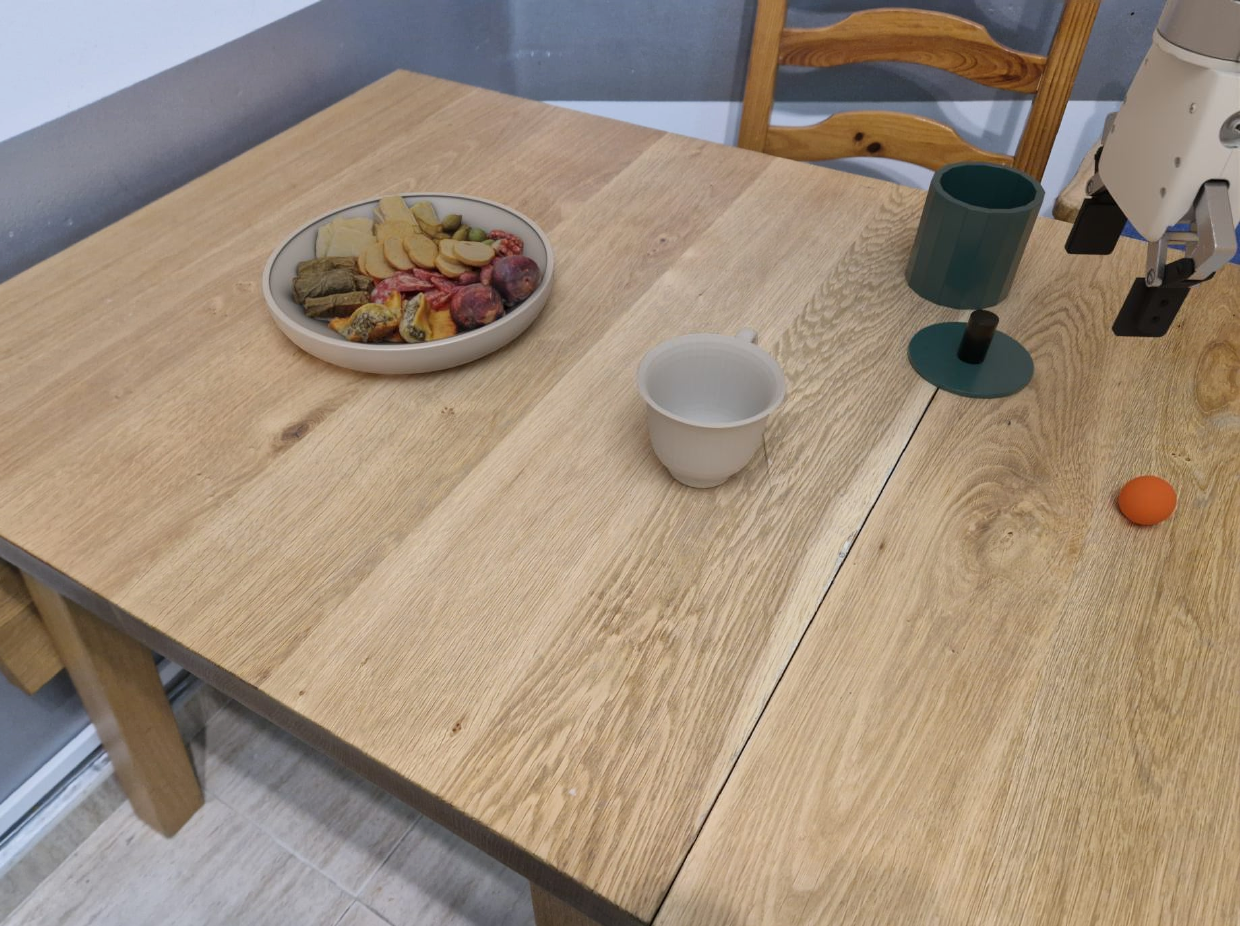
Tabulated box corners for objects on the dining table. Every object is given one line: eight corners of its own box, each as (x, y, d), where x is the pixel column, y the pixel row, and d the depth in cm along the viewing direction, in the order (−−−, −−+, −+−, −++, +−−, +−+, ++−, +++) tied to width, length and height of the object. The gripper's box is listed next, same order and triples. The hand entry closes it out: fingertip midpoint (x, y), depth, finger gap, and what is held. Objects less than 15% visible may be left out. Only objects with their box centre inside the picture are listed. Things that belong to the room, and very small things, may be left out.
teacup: (801, 430, 86) (821, 340, 78) (736, 535, 77) (751, 444, 70) (682, 388, 90) (690, 300, 83) (607, 483, 81) (609, 393, 74)
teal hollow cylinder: (992, 260, 105) (1027, 161, 96) (1018, 315, 97) (1058, 213, 89) (896, 258, 105) (922, 160, 97) (915, 313, 98) (945, 212, 90)
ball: (1152, 500, 79) (1173, 465, 76) (1171, 535, 76) (1194, 501, 73) (1103, 499, 79) (1123, 464, 76) (1120, 534, 76) (1141, 499, 73)
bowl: (216, 358, 94) (193, 291, 89) (356, 214, 114) (344, 152, 108) (493, 417, 87) (486, 348, 82) (591, 253, 107) (591, 189, 101)
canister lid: (1011, 331, 95) (1030, 284, 91) (1045, 405, 87) (1067, 356, 83) (895, 329, 96) (909, 281, 92) (919, 402, 88) (935, 353, 84)
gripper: (1400, 86, 45) (1222, 372, 57) (1241, -31, 57) (1122, 226, 69) (1237, 83, 45) (1095, 369, 57) (1113, -32, 57) (1018, 224, 69)
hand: (1110, 291), depth 63 cm, fingers open, 9 cm apart
